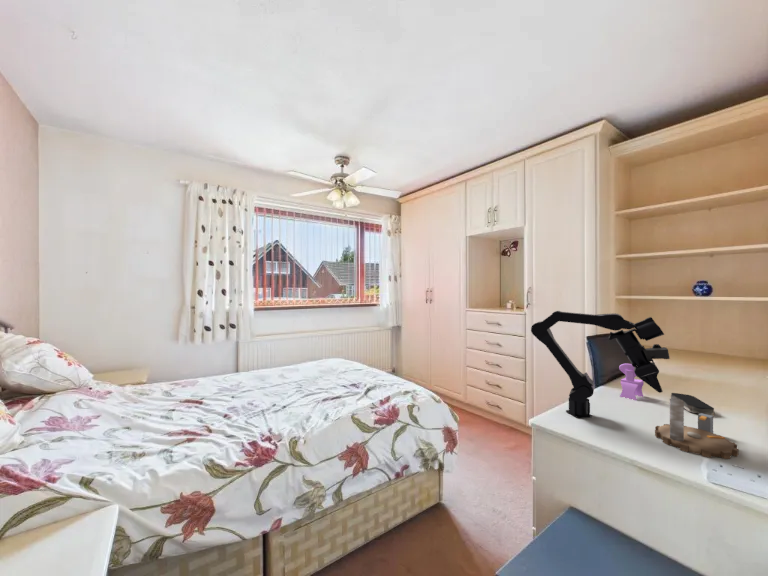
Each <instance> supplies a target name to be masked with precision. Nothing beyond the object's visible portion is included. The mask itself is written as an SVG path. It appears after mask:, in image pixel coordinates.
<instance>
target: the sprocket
mask: <svg viewBox="0 0 768 576" xmlns="http://www.w3.org/2000/svg"><path fill="white" fill-rule="evenodd" d="M684 411H685V410H684V401H683V400H680V399H674V398H671V397H670V398H669V423H665V424H663V425H656V426H655V429H654V436H655V438H658V439H660V440H662V443H663V444H666V445H667V446H672V447H675V448H677V449H679V450H680V451H683V452H685V453H692V454H697V455H701V456H702V457H705V458H710V459H712V458H713V457H714V458H721V459H723V460H730V459H731V457H732V456H733V457H738V456H739V448H738V444H736V442H733V441H730V440H729V439H727V437H725V436H722V435H719V434H716V433H714V432H713V433H711V432H708V431H706V430H702V429H698V427H697V428H695V427H692V426H687V425H684V424H685V422H684V421H685V418H684V417H685V412H684Z"/></svg>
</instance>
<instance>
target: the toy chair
mask: <svg viewBox="0 0 768 576" xmlns="http://www.w3.org/2000/svg"><path fill="white" fill-rule="evenodd" d="M618 368H619V369H618V370H619V371H621V373H623V374H624V375H625V377H624V378H621V379H620V385H621V393H620V395H619V397H620V398H623V397H625V398H624V399H627V398H629V400H632V399H633V400H632V401H636V400H638V399H637V397H641V396H642V397H641V398H644V394H643V390H642V389H643V386H644V384H645V382H644V381H643V380H641V379H639V378H637V379H636V377H637V375H636V374H635V372H634V368H635V367H633V366H632V364H631V363H622V364H620V365H619V367H618ZM637 395H638V396H637Z"/></svg>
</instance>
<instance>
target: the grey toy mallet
mask: <svg viewBox="0 0 768 576" xmlns="http://www.w3.org/2000/svg"><path fill="white" fill-rule="evenodd" d="M697 429H702V430H706V431H708V432H711V433H714V416H711V415H707V414H703V413H700V414H699V413H698V415H697Z"/></svg>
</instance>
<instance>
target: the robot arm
mask: <svg viewBox="0 0 768 576" xmlns="http://www.w3.org/2000/svg"><path fill="white" fill-rule="evenodd" d="M559 322H561V323H563V322H564V323H570V324H571V323H573V324H582V325H592V326H596V327H600V328H602V329H607V330H610V332H609V335H608V340H609V341H612V340H614V339H615V341H616V342H617V344H618V345H619V346H620V349H622V351H623V353H624V355H625V356H626V357H627V358H628V360H629V361H630V364H632V366H633V367H635V368H634V372H635V374H636V375H637V376H636V377H637V378H638V379H639V380H643V381H644V384H647V385H648V386H649V387H651V388H652V389H654V390H655V391H656V392H657V393H659V394H660V393H663V391H664V390H663V389H662V388H663V387H662V386H661V384H660V381H659V380H658V376H659V373H660V369H659V368H658V367H657V365H656V364H655V362H654V360H659V359H660V360H662V359H664V360H670V359H671V358H670V352H669V349H668V348H667V347H662V346H661V345H660V344H658V343H654V344H653V345H652V347H649V348H646V347H645V346H644V345H642V343H641V342H640V341H639V339H640V340H643V341H644V340H645V342H648V341H650V340H653V339H656V338H659V337H661V336H664V335H665V333H664V331H663V329H662V328H661V327H660V325H658V324H657V323H656V322H655V320H654V319H653V318H652V316H649V317H647V318H645V319H643V320H640V321H638V322H635V323H634V322H632V321H629V320H627V319H625V318H624V317H623V316H622V315H621V314H619V313H614V312H613V313H602V314H601V313H600V314H592V313H591V314H589V313H582V312H581V313H580V312H579V313H576V312H568V311H567V312H566V311H560V310H555V311H553V312H552V313H551V315H549V316H547V317H546V318H545V319H543V320H542V321H538V322H537V321H536V322H535V323H533V325H531V327H530V331H531V332H530V333H532V335H533V336H534V337H535V338H536V339H537V340H538V341H539V342H541V343H542V344H543V345H545V346H546V348H547V349H548V351H549V352H550V353H551V355H552V356H553V357H554V359H555V360H556V361H557V363H558V364H559V365H560V366H561V368H562V369H563V371H564V372H565V373H566V374H567V376H568V378H569V379H570V381H571V385H572V388H571V389H570V392H569V395H568V409H567V410H565V412H566V413H567V414H569V415H571V416H573V417H575V418H576V419H582V418H583V419H584V418H593V415H592V414H591V403H590V399H589V398H591V397H592V396H593V395H594V393H595V392H594V390H595V384H594V380H593V379H592V378H590V376H589V374H588V372H584V373H583V372H581V371H580V370H579V369H578V368H577V367H576V365H575V364H574V362H573V361H572V360H571V359H570V358H569V356H568V354H567V353H566V352H565V351H564V349H563V348H562V346H560V345H559V343H558V342H557V341H556V339H555V337H554V335H553V332H552V330H551V328H552V327H553V326H554V325H555V324H557V323H559ZM624 330H626V331H624ZM612 331H615V332H612ZM634 332H635V333H634ZM635 334H636V335H637V336H636V335H635ZM637 337H638V338H639V339H638V338H637Z"/></svg>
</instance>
